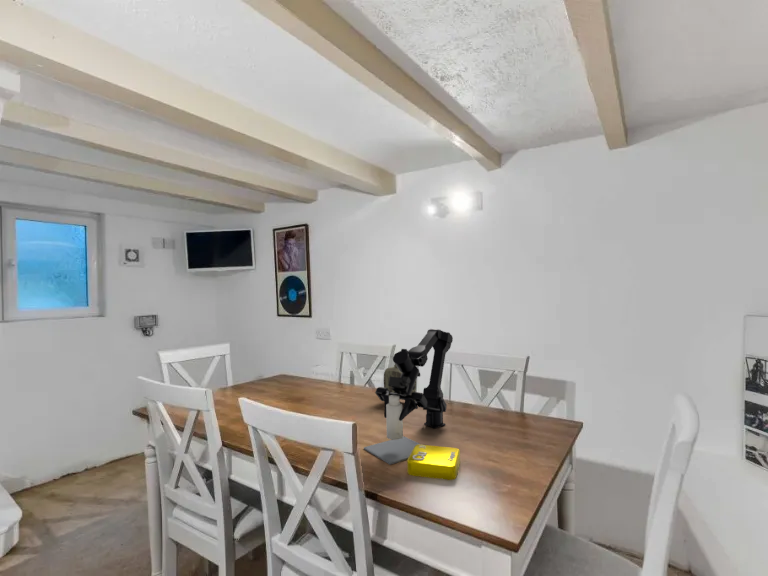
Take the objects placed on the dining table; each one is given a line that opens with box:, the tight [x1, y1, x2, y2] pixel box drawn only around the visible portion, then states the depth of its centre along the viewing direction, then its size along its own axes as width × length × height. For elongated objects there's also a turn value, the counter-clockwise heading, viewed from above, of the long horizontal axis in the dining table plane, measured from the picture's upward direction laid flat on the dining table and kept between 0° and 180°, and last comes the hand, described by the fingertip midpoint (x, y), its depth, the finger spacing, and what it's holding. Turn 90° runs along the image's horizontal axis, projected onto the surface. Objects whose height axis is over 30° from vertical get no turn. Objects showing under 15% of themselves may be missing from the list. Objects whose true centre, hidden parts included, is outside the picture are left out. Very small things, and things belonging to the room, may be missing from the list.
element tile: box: [406, 443, 461, 481], centre depth 128 cm, size 15×15×5 cm
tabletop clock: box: [383, 352, 417, 394], centre depth 199 cm, size 14×9×25 cm, turn 46°
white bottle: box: [385, 395, 404, 440], centre depth 140 cm, size 6×6×14 cm
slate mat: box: [363, 435, 422, 466], centre depth 141 cm, size 18×16×1 cm
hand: (392, 418), depth 139 cm, fingers closed on white bottle, 6 cm apart
